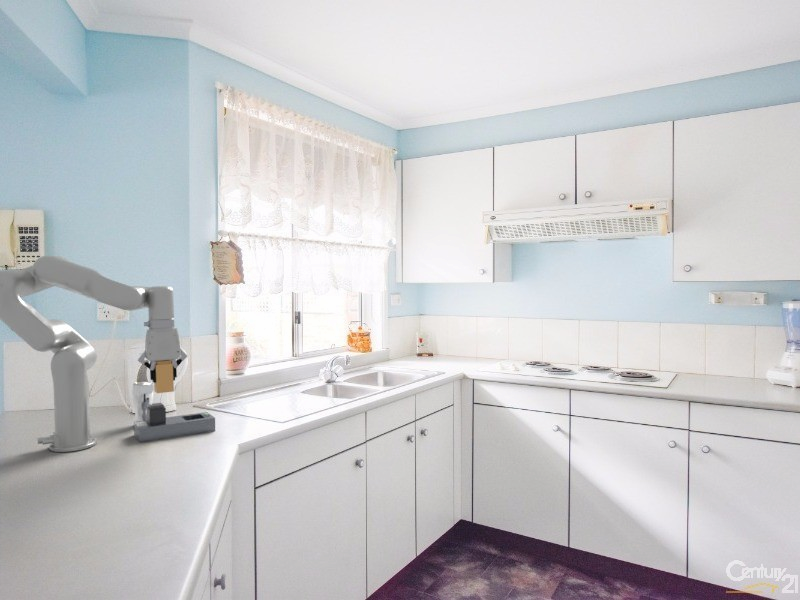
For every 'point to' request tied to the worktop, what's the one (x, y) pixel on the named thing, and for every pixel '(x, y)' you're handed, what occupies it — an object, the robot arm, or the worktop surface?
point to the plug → (164, 376)
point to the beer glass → (142, 399)
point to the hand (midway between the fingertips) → (163, 380)
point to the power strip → (171, 424)
